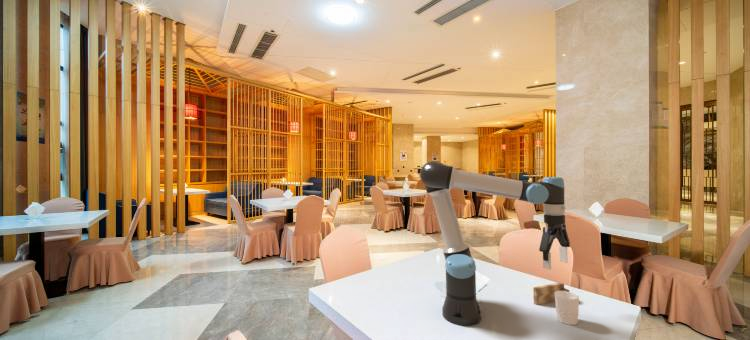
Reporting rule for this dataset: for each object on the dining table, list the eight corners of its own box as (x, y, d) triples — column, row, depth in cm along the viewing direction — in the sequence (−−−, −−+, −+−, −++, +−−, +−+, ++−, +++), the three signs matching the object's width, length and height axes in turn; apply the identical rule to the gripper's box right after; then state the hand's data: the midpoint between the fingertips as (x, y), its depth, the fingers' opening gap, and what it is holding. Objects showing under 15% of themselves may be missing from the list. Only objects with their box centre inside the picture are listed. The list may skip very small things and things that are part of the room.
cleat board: (541, 307, 124) (541, 290, 124) (533, 303, 128) (533, 287, 128) (569, 301, 129) (569, 285, 129) (561, 297, 132) (561, 282, 132)
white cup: (583, 326, 108) (582, 299, 108) (560, 325, 110) (559, 298, 110) (573, 316, 116) (573, 291, 116) (551, 314, 117) (551, 290, 117)
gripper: (548, 218, 111) (549, 274, 111) (578, 212, 124) (579, 261, 124) (528, 216, 117) (530, 268, 117) (559, 210, 131) (560, 257, 130)
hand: (555, 265), depth 121 cm, fingers open, 13 cm apart
